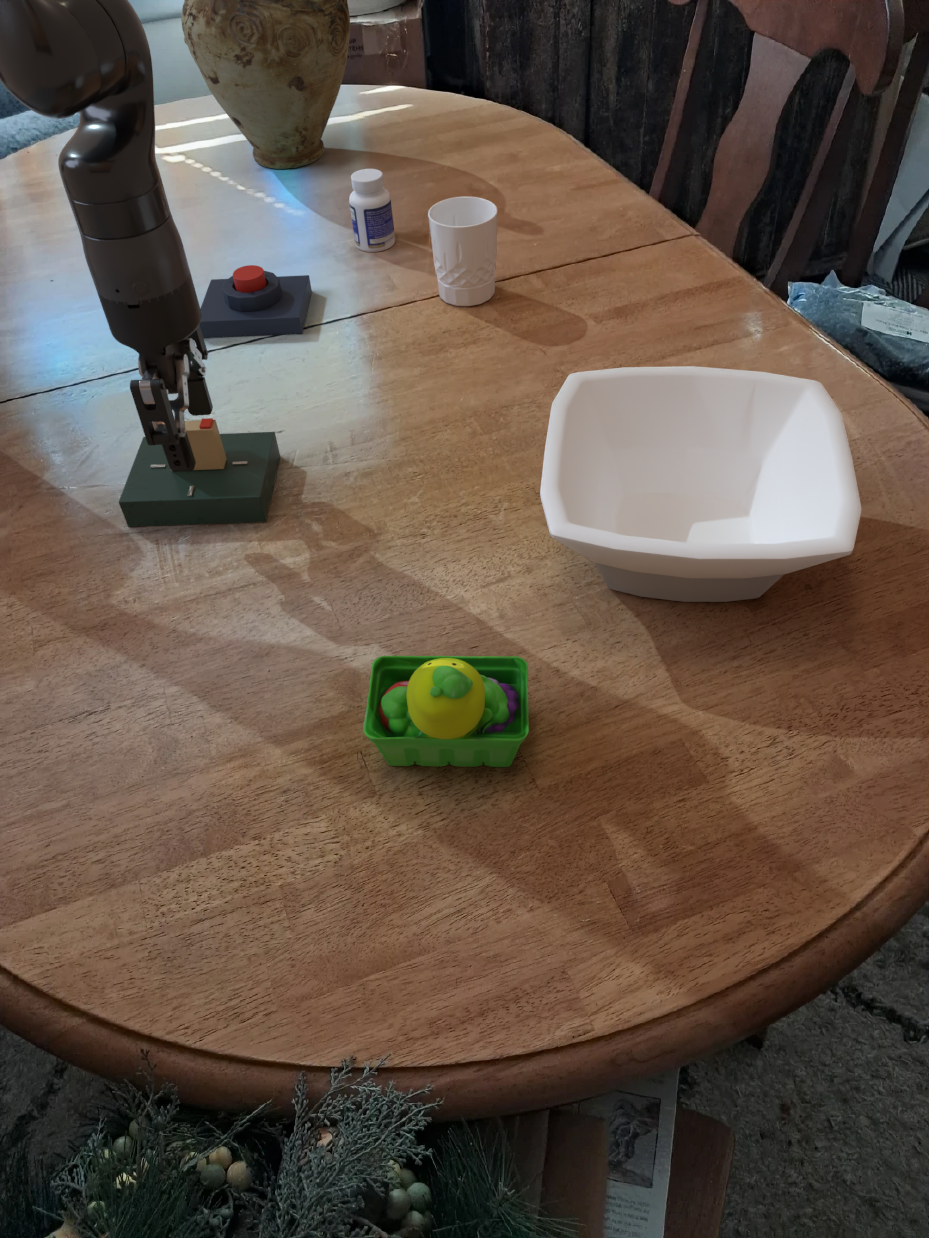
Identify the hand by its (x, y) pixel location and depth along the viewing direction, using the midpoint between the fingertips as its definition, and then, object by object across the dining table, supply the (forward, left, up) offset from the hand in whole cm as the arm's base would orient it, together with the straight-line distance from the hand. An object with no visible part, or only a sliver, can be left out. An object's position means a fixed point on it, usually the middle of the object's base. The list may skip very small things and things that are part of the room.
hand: (193, 440), depth 91 cm
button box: (0, +33, -6) cm, 34 cm away
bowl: (+44, -10, -6) cm, 45 cm away
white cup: (+25, +36, -6) cm, 44 cm away
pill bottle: (+13, +50, -6) cm, 52 cm away
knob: (0, 0, -3) cm, 3 cm away
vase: (-2, +80, -6) cm, 80 cm away
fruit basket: (+24, -31, -6) cm, 40 cm away
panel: (0, 0, -6) cm, 6 cm away
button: (0, +33, -2) cm, 33 cm away
